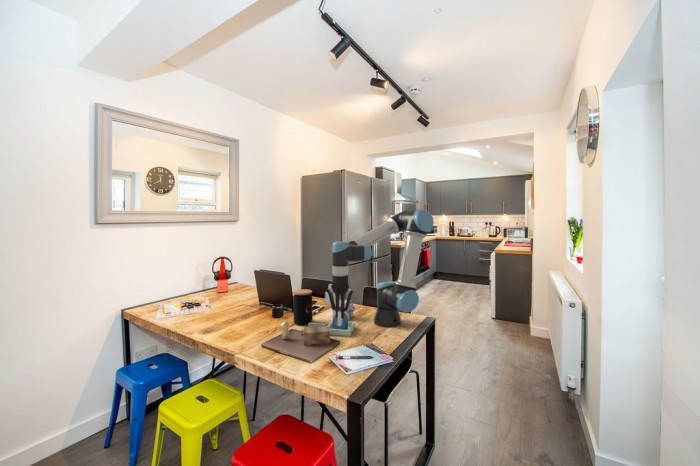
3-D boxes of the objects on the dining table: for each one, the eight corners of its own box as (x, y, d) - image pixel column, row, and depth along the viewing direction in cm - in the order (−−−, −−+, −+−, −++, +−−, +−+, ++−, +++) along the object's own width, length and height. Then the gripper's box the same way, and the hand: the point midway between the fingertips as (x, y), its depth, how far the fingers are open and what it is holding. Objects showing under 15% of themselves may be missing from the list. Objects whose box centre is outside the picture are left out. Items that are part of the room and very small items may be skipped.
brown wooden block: (328, 338, 145) (328, 326, 145) (329, 343, 138) (329, 331, 138) (303, 340, 143) (303, 327, 143) (304, 345, 136) (303, 333, 136)
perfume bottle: (347, 328, 155) (347, 306, 155) (344, 332, 150) (344, 309, 149) (336, 327, 157) (336, 305, 157) (332, 331, 151) (332, 308, 151)
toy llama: (351, 321, 169) (351, 286, 168) (325, 317, 176) (324, 284, 176) (356, 317, 176) (356, 284, 175) (331, 314, 183) (330, 282, 182)
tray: (354, 327, 158) (354, 322, 158) (349, 336, 146) (349, 330, 146) (331, 326, 161) (331, 320, 161) (324, 335, 148) (324, 329, 148)
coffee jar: (308, 326, 161) (308, 293, 160) (290, 325, 163) (290, 293, 163) (315, 320, 171) (314, 289, 171) (297, 319, 174) (297, 288, 173)
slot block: (323, 328, 158) (323, 323, 158) (316, 336, 147) (316, 331, 147) (309, 327, 160) (309, 322, 160) (301, 335, 148) (301, 330, 148)
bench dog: (289, 337, 145) (289, 321, 145) (287, 340, 142) (286, 324, 142) (283, 337, 146) (283, 321, 145) (280, 339, 143) (280, 323, 142)
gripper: (355, 274, 139) (355, 323, 140) (329, 272, 142) (328, 321, 143) (352, 276, 132) (351, 328, 132) (324, 275, 135) (324, 326, 135)
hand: (339, 324), depth 137 cm, fingers closed
